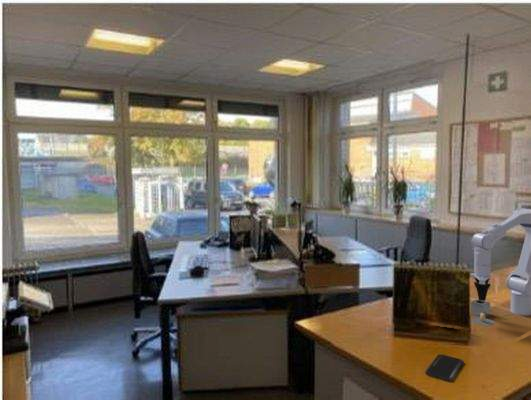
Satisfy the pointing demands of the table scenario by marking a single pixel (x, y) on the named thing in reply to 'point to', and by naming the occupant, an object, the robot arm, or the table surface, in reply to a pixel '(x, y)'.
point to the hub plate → (487, 322)
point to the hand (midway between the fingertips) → (482, 297)
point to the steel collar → (480, 307)
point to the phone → (444, 367)
